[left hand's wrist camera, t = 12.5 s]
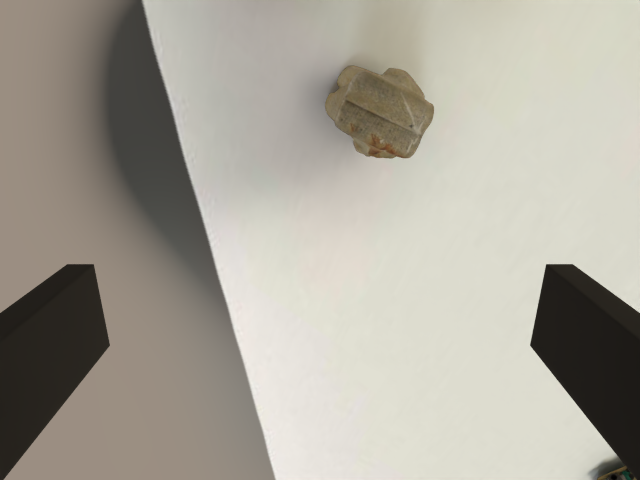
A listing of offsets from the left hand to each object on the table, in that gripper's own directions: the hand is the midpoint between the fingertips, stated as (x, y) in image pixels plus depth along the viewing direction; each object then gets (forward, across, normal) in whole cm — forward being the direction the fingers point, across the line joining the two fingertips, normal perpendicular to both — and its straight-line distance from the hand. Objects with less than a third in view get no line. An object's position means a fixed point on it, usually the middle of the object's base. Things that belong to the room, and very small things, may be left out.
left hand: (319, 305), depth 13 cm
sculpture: (+28, +4, +4) cm, 28 cm away
